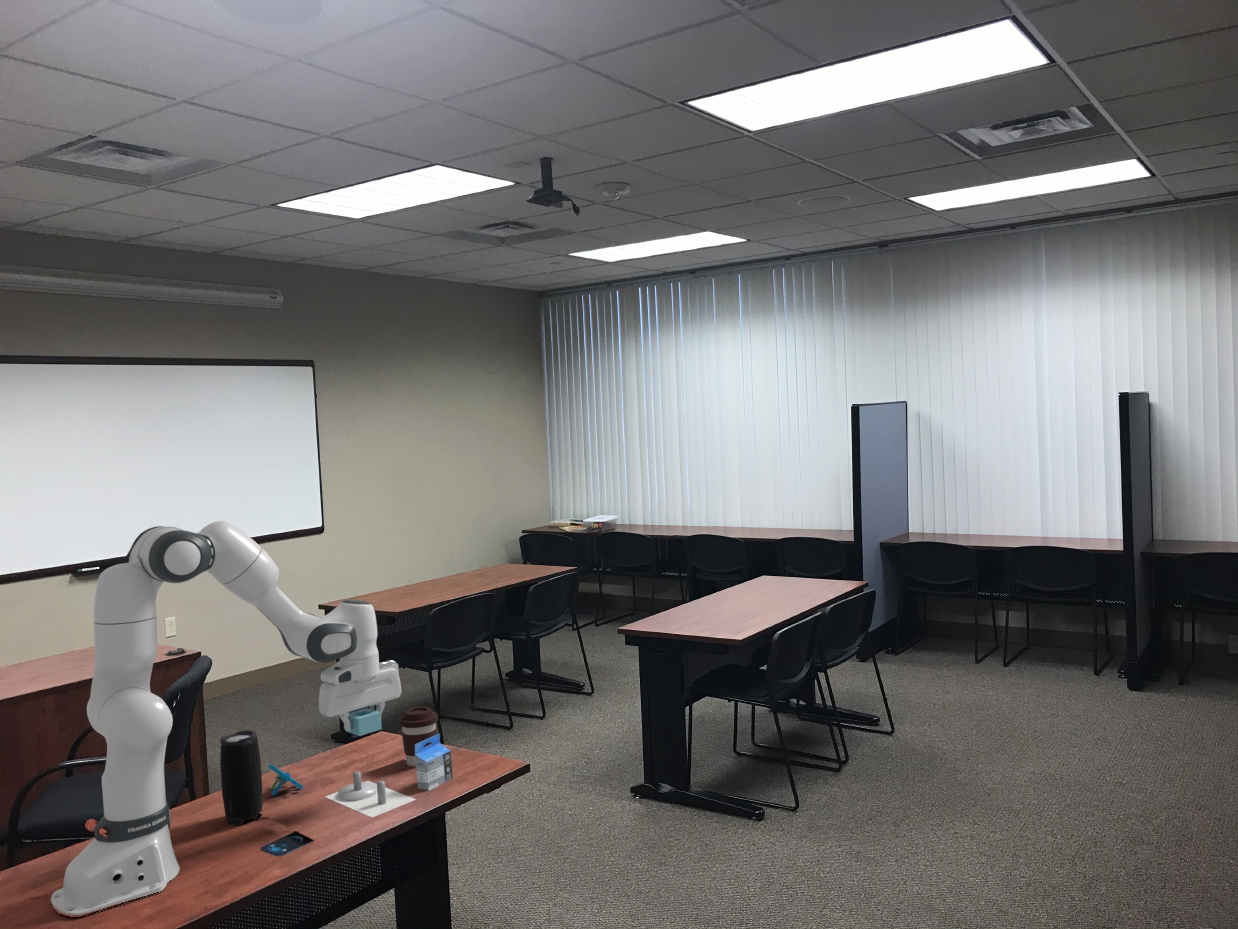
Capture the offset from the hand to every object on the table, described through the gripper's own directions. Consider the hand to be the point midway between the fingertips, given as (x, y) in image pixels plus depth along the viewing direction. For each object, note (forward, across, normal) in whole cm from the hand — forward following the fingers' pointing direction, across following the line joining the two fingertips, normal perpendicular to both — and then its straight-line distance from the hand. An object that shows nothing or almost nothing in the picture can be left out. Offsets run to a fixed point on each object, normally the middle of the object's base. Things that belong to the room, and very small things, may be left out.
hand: (363, 725), depth 216 cm
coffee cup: (+19, -22, -10) cm, 31 cm away
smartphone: (+20, +20, +4) cm, 28 cm away
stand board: (+19, 0, +1) cm, 19 cm away
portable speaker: (+19, +22, -17) cm, 34 cm away
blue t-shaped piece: (+19, +8, -24) cm, 32 cm away
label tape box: (+19, -15, +6) cm, 25 cm away
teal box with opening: (+1, 0, 0) cm, 1 cm away
